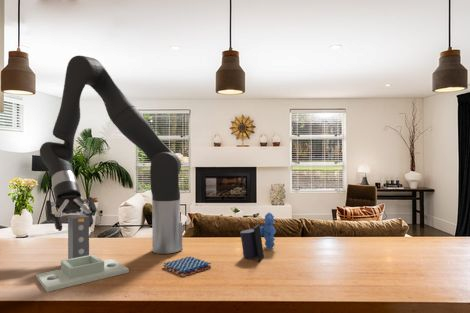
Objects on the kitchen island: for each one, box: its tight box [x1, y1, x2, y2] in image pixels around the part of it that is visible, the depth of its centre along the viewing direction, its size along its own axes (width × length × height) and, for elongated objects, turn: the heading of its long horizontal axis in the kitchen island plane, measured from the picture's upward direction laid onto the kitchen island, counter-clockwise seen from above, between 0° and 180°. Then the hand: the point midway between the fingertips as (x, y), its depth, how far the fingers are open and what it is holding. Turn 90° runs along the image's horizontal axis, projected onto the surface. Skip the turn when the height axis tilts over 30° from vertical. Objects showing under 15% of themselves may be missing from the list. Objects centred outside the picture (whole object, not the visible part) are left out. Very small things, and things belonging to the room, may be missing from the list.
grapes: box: [259, 212, 277, 250], centre depth 116 cm, size 12×7×12 cm, turn 176°
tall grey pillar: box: [67, 214, 90, 259], centre depth 100 cm, size 4×5×14 cm
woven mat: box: [162, 256, 212, 277], centre depth 95 cm, size 10×11×2 cm
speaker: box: [240, 224, 265, 263], centre depth 105 cm, size 8×6×10 cm
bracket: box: [36, 254, 130, 293], centre depth 90 cm, size 20×12×4 cm, turn 131°
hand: (75, 227), depth 102 cm, fingers open, 8 cm apart
